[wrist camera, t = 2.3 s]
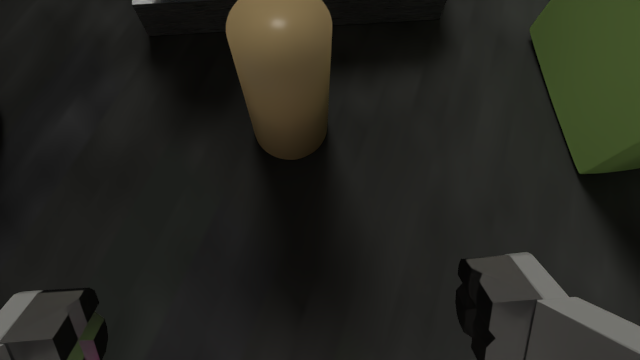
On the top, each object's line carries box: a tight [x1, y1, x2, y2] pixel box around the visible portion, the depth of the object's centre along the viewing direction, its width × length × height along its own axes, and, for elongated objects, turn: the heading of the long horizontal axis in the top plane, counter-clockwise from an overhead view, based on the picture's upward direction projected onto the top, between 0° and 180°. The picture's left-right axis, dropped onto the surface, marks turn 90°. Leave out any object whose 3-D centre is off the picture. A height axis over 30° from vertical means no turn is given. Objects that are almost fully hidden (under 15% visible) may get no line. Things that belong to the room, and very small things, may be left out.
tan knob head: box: [226, 0, 332, 160], centre depth 24 cm, size 5×5×10 cm
